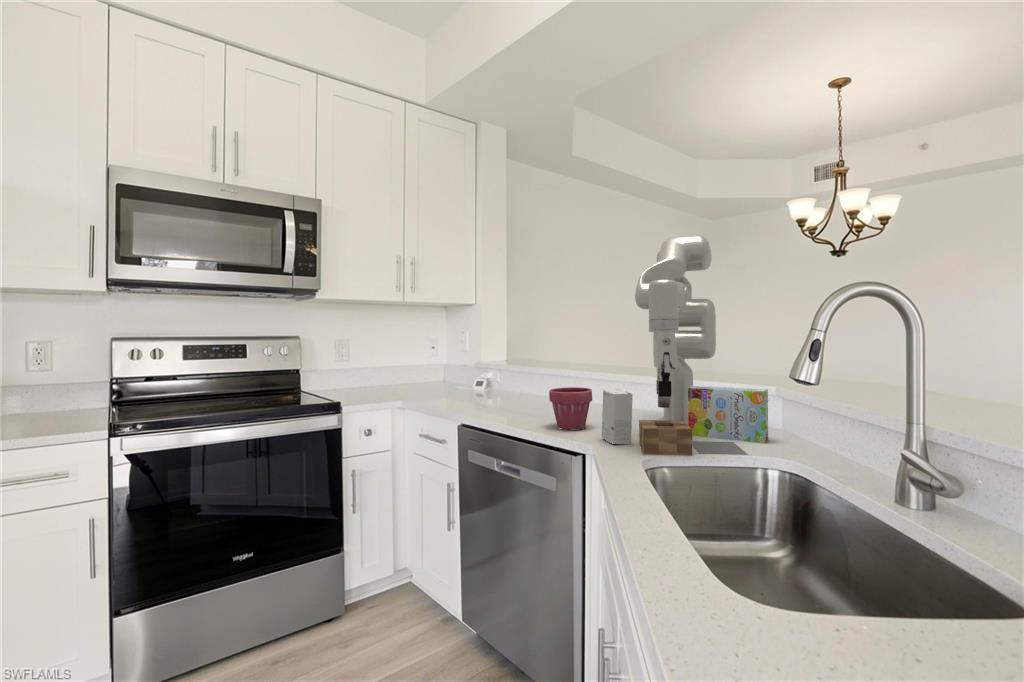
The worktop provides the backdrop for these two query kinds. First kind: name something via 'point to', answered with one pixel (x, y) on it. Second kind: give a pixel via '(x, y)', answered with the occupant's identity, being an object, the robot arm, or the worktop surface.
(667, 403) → the pin
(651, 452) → the hole block
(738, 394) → the snack box
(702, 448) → the mat
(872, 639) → the worktop surface
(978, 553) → the worktop surface
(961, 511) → the worktop surface
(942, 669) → the worktop surface
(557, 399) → the plant pot
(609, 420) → the skincare box
